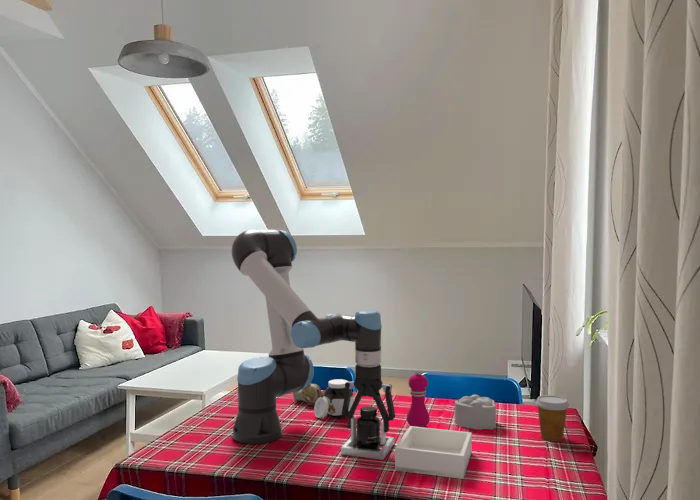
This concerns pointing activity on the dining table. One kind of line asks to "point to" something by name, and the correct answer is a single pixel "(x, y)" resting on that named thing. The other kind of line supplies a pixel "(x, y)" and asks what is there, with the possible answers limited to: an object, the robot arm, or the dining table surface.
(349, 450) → the socket collar
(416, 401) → the pepper mill
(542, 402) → the disposable coffee cup
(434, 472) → the bin
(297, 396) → the ceramic sculpture
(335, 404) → the spread jar
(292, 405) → the dining table surface
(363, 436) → the supplement bottle
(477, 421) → the box of round lumps
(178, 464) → the dining table surface
